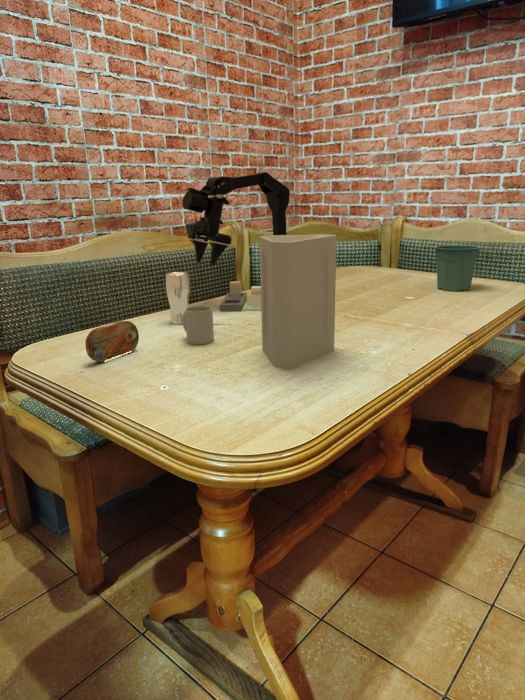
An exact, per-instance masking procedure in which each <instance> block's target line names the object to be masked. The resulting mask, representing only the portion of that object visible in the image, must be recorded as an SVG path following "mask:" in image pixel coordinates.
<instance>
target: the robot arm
mask: <svg viewBox="0 0 525 700" xmlns="http://www.w3.org/2000/svg"><path fill="white" fill-rule="evenodd" d="M254 186H258V187H259V189H260V191H261V193H263V194H264V195H265V196H266V198H265V199H266V201H267V206H268V207H269V209H270V211H271V219H272V220H271V221H272V222H271V223H272V235H288V233H287V232H288V231H287V217H286V215H287V214H286V211H287V209H288V207H289V204H290V196H291V193H290V189H289V187H287V186H286V185H284V184H283V183H282V182H281V181H279V180H278V179H276V178H275V177H273V176H272V175H271V174H270V173H269V172H266V171H263V172H262V171H260V172H257V173H253V174H246V175H239V176H235V177H233V176H209V177H208V178H207V180H206V183H205V185H204V186H203V187H202V188H201V189H200V190H198V189H196V188H193V187H188V188H187V191H186V192H185V193H184V195H183V198H182V201H181V202H182V209H184V210H187V211H192V212H195V213H198V214H199V213H200V214H202V213H203V216H202V217H200V218H199V220H196V221H194V222H190V223H185V231H186V235H188V236H187V239H189V241H190V242H191V243H192V244H193V247H194V252H195V258H196V262H197V263H200V262H201V261H202V259H203V257H204V254H205V253H206V250H207V248H208V245H209V246H210V249H211V250H210V265H211V266H215V264H216V263H217V261H218V260H219V258H220V257H221V255H222V254H223V253H224V251H225V250H226V249H227V248H228V247H229V245H231V244H232V240H233V239H232V238H231V235H228V234H225V233H224V234H223V233H220V227H221V225H223V224H224V220H222V216H223V215H222V214H223V208H224V205H225V206H227V205H230V204H231V203H230V201H229V200H228V199H227V196H225V195H228V194H229V193H232V192H233V191H235V190H237V189H243V188H249V187H254ZM217 196H218V197H217ZM219 196H221V197H219ZM208 241H209V242H208Z"/></svg>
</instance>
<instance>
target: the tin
mask: <svg viewBox="0 0 525 700" xmlns="http://www.w3.org/2000/svg"><path fill="white" fill-rule="evenodd" d="M139 339H140V334H139V329H138V328H137V326H136V325H135V324H134V322H131V321H128V320H119V321H115V322H112V323H108V324H105V325H103V326H99V327H96V328H93V329H92V330H91V331H90V332H89V333H88V334H87V336H86V339H85V342H84V343H85V350H86V354H87V356H88V358H90V359H91V360H92V361H95V362H98V361H99V363H102V362H104V361H105V360H107V359H110V358H112V357H115V356H118V355H121V354H124V353H126V352H129V351H133V350H134V351H135V350H136V349H137V347H138V344H139ZM134 351H133V352H134Z"/></svg>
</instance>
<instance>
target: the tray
mask: <svg viewBox="0 0 525 700" xmlns="http://www.w3.org/2000/svg"><path fill="white" fill-rule="evenodd" d="M242 312H261V308H252V302H245V304H244V307H243V309H242Z"/></svg>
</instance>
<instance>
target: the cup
mask: <svg viewBox="0 0 525 700" xmlns="http://www.w3.org/2000/svg"><path fill="white" fill-rule="evenodd" d="M213 315H214V314H213V307H212V306H209V305H208V306H207V305H194V306H193V305H192V306H188V308H186V309H185V313H184V314H183V324H182V327H183V329H184V331H185V333H186V339H187V342H189V343H188V344H191V345H194V344H195V345H198V346H201V345H202V346H203V345H207V344H211V343H213V342H214V340H215V335H214V332H215V331H214V316H213Z"/></svg>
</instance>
